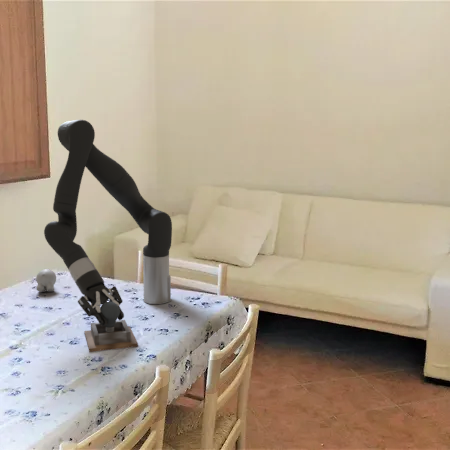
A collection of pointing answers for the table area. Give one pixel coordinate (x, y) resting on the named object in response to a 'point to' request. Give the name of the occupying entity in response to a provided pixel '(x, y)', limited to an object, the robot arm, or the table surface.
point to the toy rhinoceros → (46, 280)
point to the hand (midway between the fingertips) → (113, 321)
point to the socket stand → (110, 337)
